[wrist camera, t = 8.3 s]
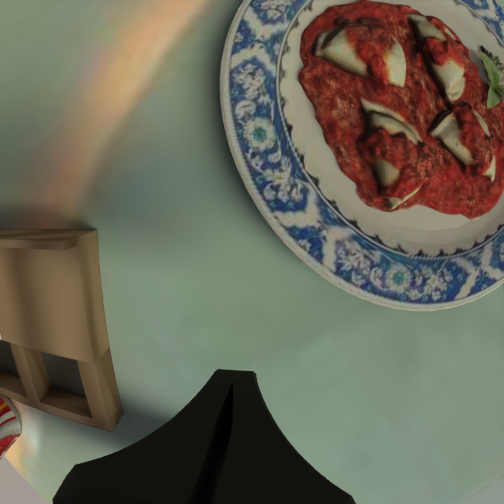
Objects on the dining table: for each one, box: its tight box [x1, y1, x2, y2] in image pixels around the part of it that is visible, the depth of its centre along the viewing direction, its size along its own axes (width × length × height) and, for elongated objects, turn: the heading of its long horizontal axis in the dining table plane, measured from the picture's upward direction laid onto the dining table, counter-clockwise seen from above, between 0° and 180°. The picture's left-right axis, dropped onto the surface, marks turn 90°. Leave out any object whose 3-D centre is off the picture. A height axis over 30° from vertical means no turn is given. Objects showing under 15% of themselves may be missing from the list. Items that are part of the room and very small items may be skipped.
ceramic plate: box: [220, 0, 504, 311], centre depth 15 cm, size 26×26×3 cm
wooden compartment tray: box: [0, 229, 123, 432], centre depth 19 cm, size 15×15×4 cm
